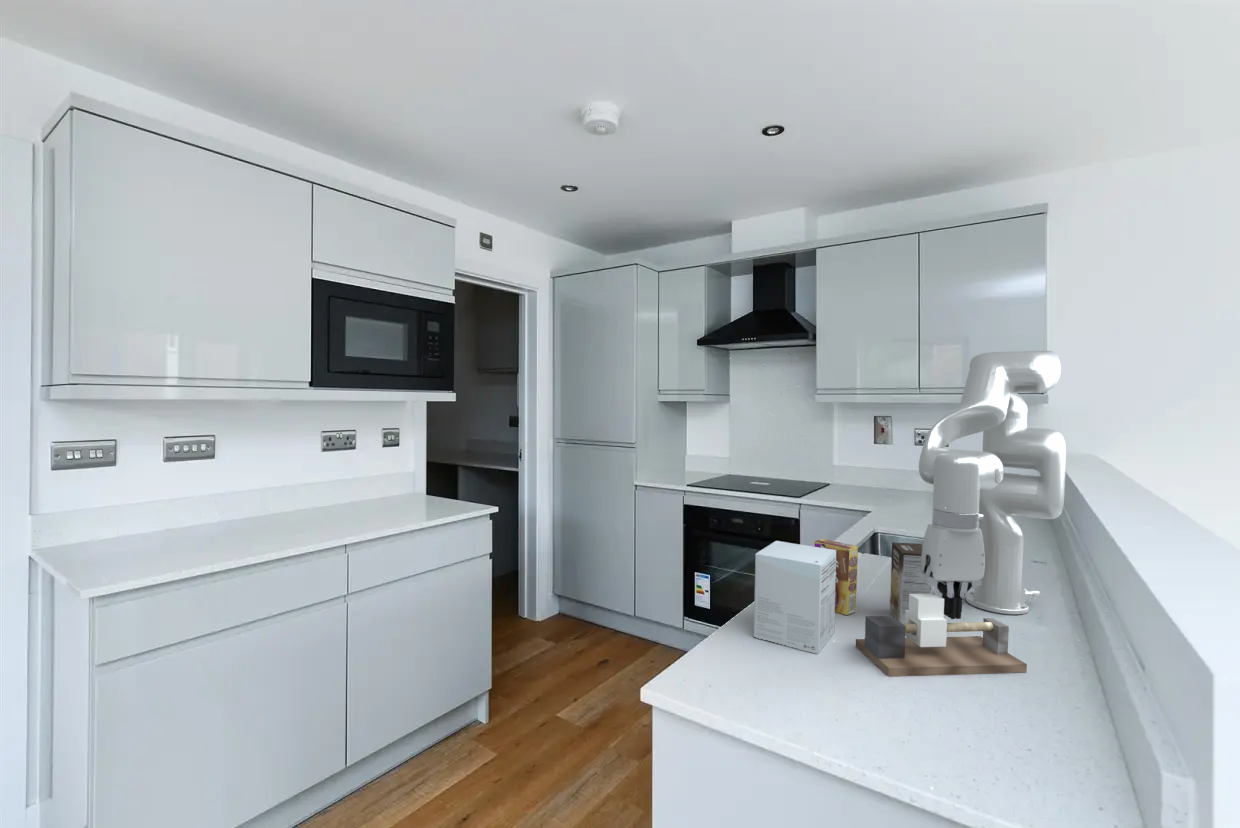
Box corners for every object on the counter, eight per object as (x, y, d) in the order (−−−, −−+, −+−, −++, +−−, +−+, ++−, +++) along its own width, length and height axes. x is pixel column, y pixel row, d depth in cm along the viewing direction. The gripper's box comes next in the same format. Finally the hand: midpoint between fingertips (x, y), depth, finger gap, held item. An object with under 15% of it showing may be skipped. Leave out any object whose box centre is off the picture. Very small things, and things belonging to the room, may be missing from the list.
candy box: (857, 612, 133) (859, 545, 132) (847, 616, 130) (849, 548, 130) (822, 600, 140) (823, 537, 139) (811, 604, 137) (813, 540, 137)
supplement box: (835, 632, 122) (838, 549, 121) (818, 655, 111) (821, 564, 110) (773, 617, 129) (775, 539, 128) (752, 638, 118) (754, 552, 117)
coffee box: (888, 610, 134) (890, 541, 134) (918, 612, 133) (920, 543, 132) (899, 625, 125) (901, 552, 125) (931, 628, 124) (934, 554, 124)
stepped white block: (929, 635, 112) (930, 591, 112) (946, 646, 107) (947, 601, 107) (904, 635, 112) (906, 592, 111) (920, 647, 107) (921, 601, 106)
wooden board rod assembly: (979, 643, 117) (981, 606, 117) (1026, 672, 105) (1028, 631, 105) (855, 646, 115) (856, 609, 114) (888, 676, 103) (890, 634, 102)
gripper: (978, 515, 113) (974, 608, 114) (905, 515, 112) (902, 609, 113) (1007, 524, 106) (1003, 623, 107) (929, 524, 105) (925, 625, 105)
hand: (951, 616), depth 110 cm, fingers closed
